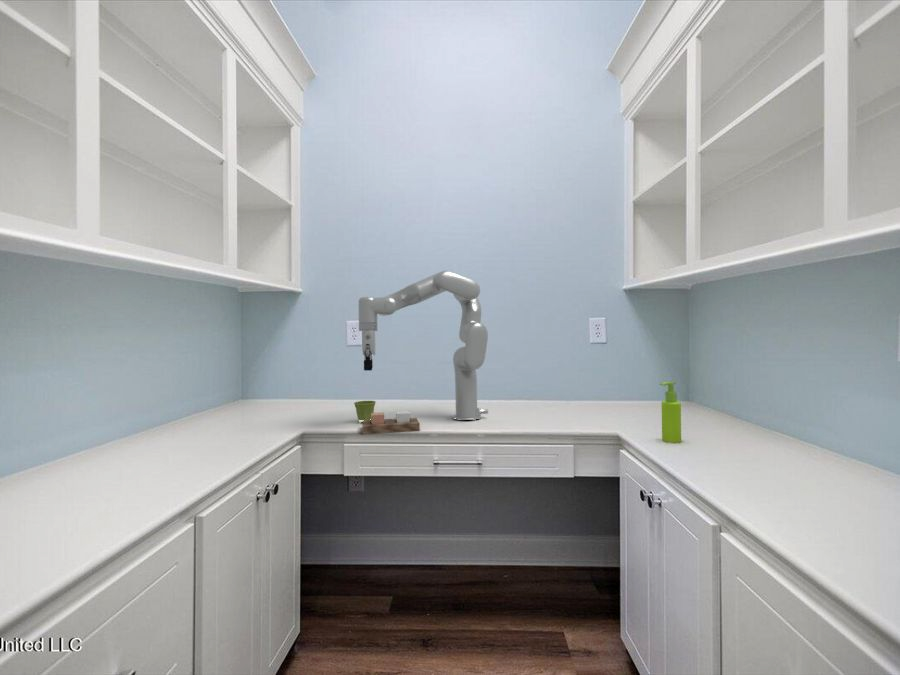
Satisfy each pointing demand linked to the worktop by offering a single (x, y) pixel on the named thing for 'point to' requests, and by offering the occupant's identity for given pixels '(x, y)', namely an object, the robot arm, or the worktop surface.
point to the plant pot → (364, 409)
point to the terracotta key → (377, 418)
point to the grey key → (402, 417)
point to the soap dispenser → (671, 415)
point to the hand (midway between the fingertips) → (368, 369)
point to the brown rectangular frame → (390, 426)
